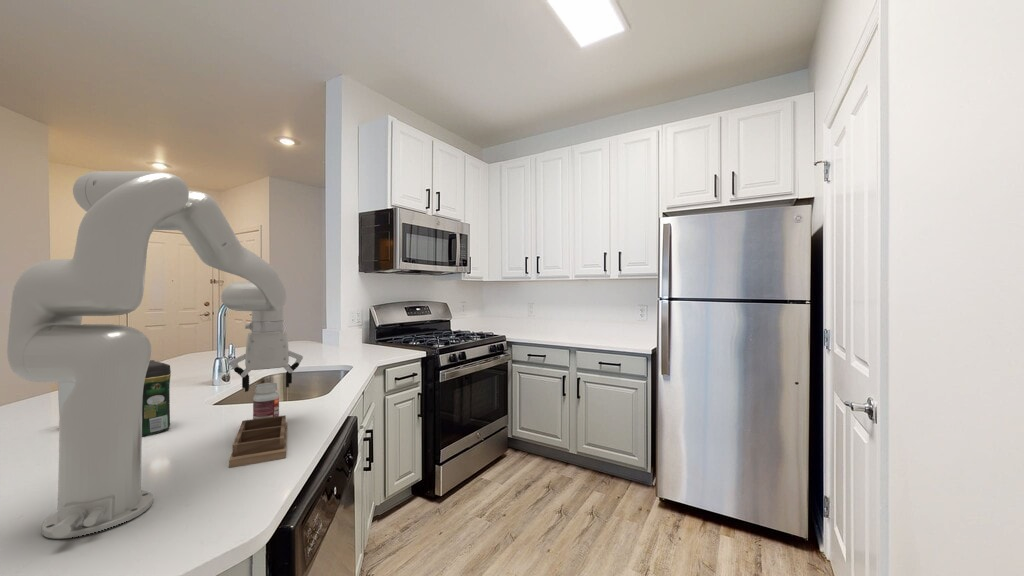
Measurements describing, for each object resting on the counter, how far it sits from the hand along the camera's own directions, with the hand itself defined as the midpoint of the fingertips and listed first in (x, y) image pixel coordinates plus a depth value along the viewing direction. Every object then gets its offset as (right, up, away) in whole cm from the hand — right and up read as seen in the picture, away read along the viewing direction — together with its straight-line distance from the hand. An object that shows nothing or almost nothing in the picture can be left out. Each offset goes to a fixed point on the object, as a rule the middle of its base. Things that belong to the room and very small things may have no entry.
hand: (267, 388), depth 110 cm
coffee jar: (-28, -10, -6) cm, 30 cm away
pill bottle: (0, -10, -1) cm, 10 cm away
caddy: (+8, -10, -15) cm, 19 cm away
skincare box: (-48, -10, -3) cm, 49 cm away
